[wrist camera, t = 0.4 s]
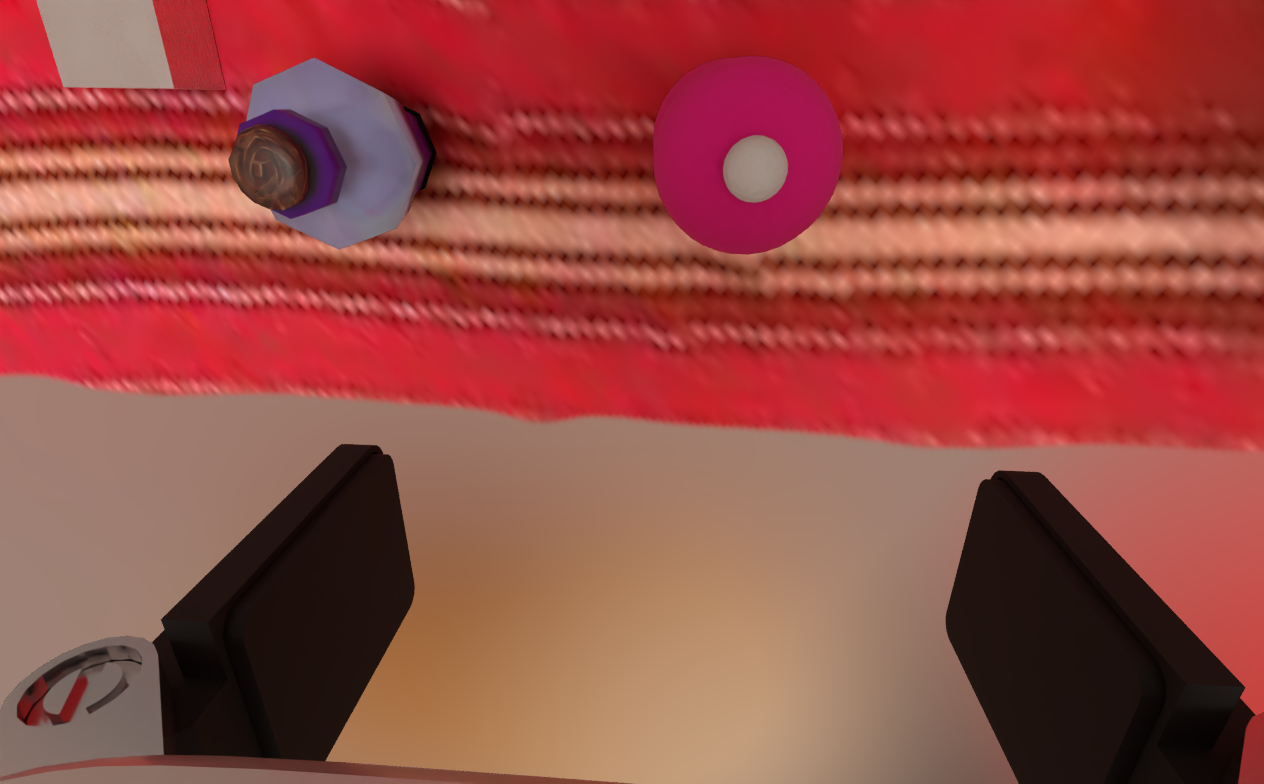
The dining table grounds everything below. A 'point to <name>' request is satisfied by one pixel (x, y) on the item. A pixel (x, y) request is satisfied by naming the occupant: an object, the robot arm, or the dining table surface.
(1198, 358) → the dining table surface
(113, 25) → the rail
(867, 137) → the dining table surface
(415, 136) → the potion bottle
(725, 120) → the pepper mill
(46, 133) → the dining table surface
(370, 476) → the robot arm
